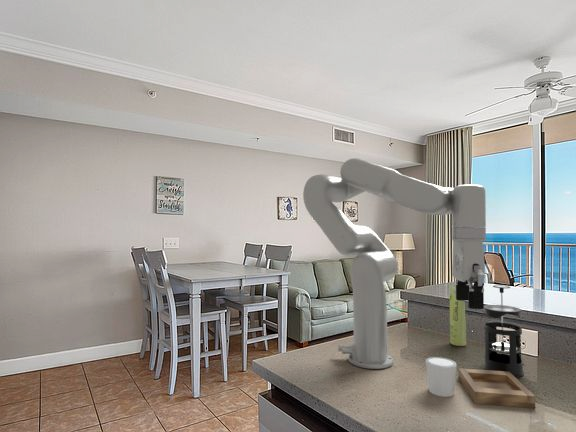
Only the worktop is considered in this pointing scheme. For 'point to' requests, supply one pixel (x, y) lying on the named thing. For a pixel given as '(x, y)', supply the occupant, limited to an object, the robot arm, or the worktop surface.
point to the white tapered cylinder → (441, 376)
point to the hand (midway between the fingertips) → (469, 304)
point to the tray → (496, 388)
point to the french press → (500, 360)
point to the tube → (457, 319)
